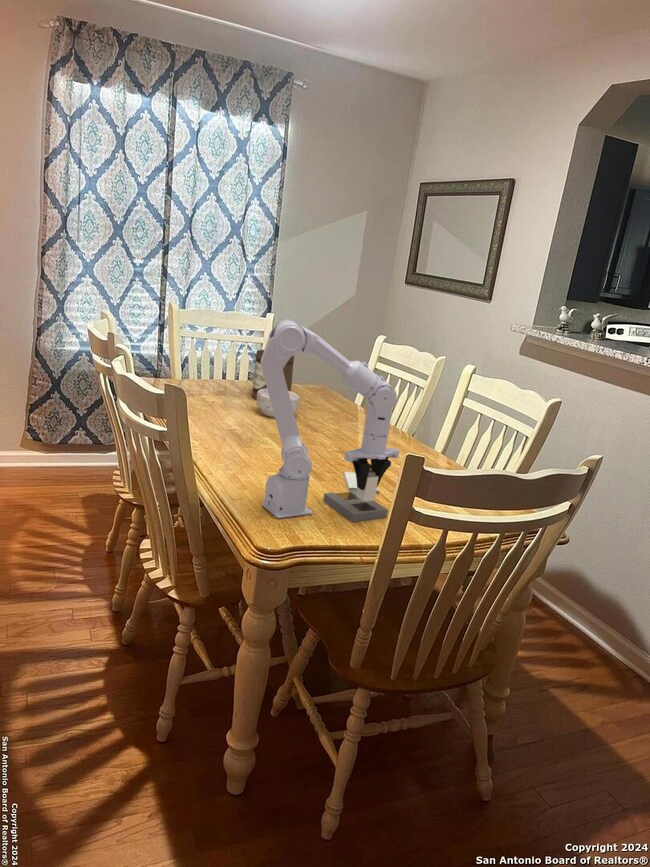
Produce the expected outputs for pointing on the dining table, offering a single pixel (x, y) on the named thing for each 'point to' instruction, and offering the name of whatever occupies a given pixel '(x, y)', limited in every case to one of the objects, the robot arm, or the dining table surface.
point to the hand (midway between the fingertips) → (366, 487)
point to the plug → (368, 488)
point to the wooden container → (259, 377)
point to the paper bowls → (265, 402)
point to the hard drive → (353, 481)
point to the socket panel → (354, 506)
